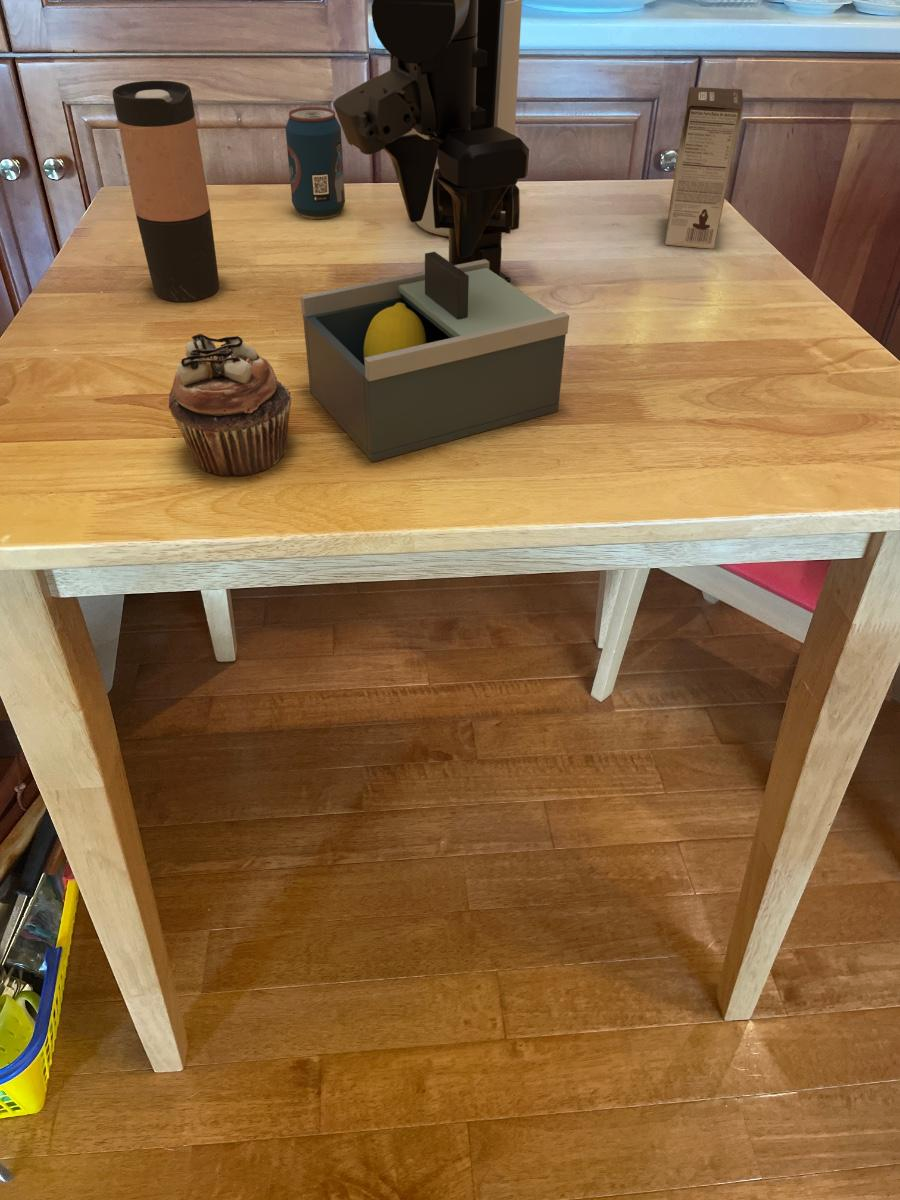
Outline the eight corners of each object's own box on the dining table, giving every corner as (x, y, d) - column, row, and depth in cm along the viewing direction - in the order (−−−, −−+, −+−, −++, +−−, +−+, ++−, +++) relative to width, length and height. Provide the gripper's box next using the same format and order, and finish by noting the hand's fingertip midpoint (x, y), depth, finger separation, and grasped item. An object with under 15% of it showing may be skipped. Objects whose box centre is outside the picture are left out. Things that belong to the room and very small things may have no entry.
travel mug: (157, 276, 106) (118, 80, 93) (225, 275, 106) (196, 79, 93) (146, 304, 100) (103, 99, 87) (218, 302, 101) (186, 98, 87)
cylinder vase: (511, 240, 116) (524, 6, 99) (411, 239, 116) (408, 4, 99) (508, 207, 125) (519, -12, 109) (416, 205, 125) (413, -14, 109)
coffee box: (665, 221, 122) (688, 84, 112) (715, 225, 121) (742, 88, 111) (663, 245, 115) (687, 103, 105) (716, 250, 114) (745, 107, 104)
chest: (309, 391, 86) (300, 295, 80) (481, 350, 93) (485, 258, 87) (373, 463, 77) (368, 361, 71) (559, 412, 84) (569, 315, 78)
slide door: (398, 291, 83) (397, 244, 80) (486, 273, 86) (488, 228, 84) (461, 342, 75) (462, 293, 73) (555, 321, 79) (560, 272, 76)
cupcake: (301, 476, 75) (289, 362, 69) (179, 488, 74) (154, 374, 67) (291, 417, 82) (279, 309, 76) (180, 427, 81) (158, 318, 74)
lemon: (428, 401, 84) (439, 311, 83) (407, 394, 79) (420, 298, 78) (371, 395, 86) (382, 306, 85) (348, 387, 81) (359, 293, 79)
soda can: (290, 205, 125) (281, 106, 117) (341, 201, 126) (335, 104, 118) (296, 222, 120) (287, 121, 112) (349, 218, 121) (343, 118, 113)
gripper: (296, 20, 74) (313, 218, 84) (399, 71, 62) (404, 296, 72) (420, 8, 78) (422, 199, 88) (539, 55, 66) (525, 270, 76)
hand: (439, 238), depth 81 cm, fingers open, 9 cm apart
